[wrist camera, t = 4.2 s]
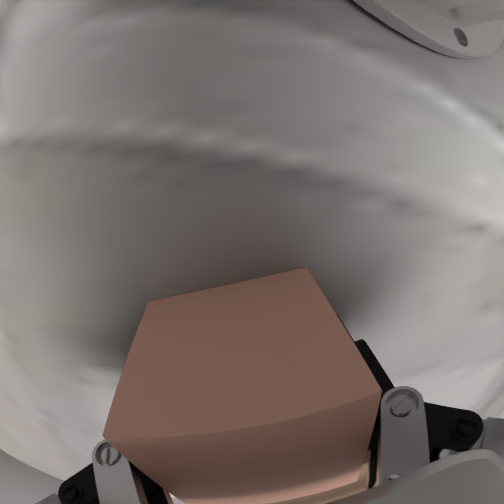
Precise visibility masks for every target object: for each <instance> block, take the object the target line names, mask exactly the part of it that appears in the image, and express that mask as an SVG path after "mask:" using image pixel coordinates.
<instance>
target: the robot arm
mask: <svg viewBox="0 0 504 504" xmlns="http://www.w3.org/2000/svg"><path fill="white" fill-rule="evenodd" d="M353 1H354V2H356V3H357V4H358V5H359V6H361V7H362V8H363V9H364V10H366V11H368V12H369V13H371V14H372V15H374V16H375V17H377V18H378V19H380V20H381V21H383V22H384V23H385V24H387V25H388V26H390V27H391V28H393V29H395V30H396V31H398V32H400V33H402V34H403V35H405V36H407V37H408V38H410V39H412V40H413V41H415V42H417V43H419V44H421V45H423V46H425V47H428V48H430V49H432V50H434V51H436V52H438V53H441V54H445V55H448V56H451V57H455V58H463V59H474V58H480V57H487V56H490V55H492V54H494V53H495V52H497V51H498V50H499V48H500V47H501V45H502V44H503V41H504V0H353ZM336 314H337V313H336ZM337 316H338V314H337ZM338 318H339V316H338ZM339 319H340V318H339ZM340 321H341V319H340ZM341 322H342V321H341ZM342 324H343V322H342ZM343 326H344V324H343ZM344 327H345V326H344ZM345 329H346V327H345ZM346 331H347V332H348V330H347V329H346ZM348 334H349V332H348ZM349 335H350V334H349ZM350 337H351V335H350ZM351 339H352V337H351ZM352 340H353V339H352ZM353 342H354V340H353ZM354 344H355V345H356V347H357V349H358V350H359V352H360V354H361V355H362V357H363V359H364V360H365V362H366V364H367V366H368V367H369V369H370V371H371V372H372V374H373V376H374V377H375V379H376V381H377V383H378V384H379V386H380V388H381V390H382V393H381V398H380V403H379V407H378V412H377V416H376V420H375V424H374V428H373V432H372V435H371V439H370V442H369V446H368V449H367V450H369V463H368V475H367V485H366V490H365V491H363V492H360V493H357V494H354V495H351V496H348V497H345V498H342V499H338V500H335V501H331V502H328V503H324V504H504V419H501V418H491V417H487V419H486V420H484V419H481V417H480V416H479V415H478V414H476V413H475V412H473V411H469V410H463V409H457V408H452V407H446V406H441V405H436V404H431V403H426V402H424V401H423V398H422V395H421V394H420V393H419V391H417V390H416V389H414V388H412V387H408V386H399V387H394V386H393V384H392V382H391V381H390V379H389V378H388V376H387V374H386V373H385V371H384V370H383V368H382V366H381V365H380V363H379V362H378V360H377V359H376V357H375V356H374V354H373V352H372V351H371V349H370V348H369V346H368V345H367V343H366V342H365V341H364V340H363V339H361V340H358V341H355V342H354ZM92 461H93V462H92V463H91V464H90V465H88V466H87V467H85V468H84V469H82V470H81V471H79V472H78V473H76V474H75V475H73V476H72V477H70V478H69V479H67V480H66V481H64V482H63V483H62V484H61V486H60V488H59V491H58V494H57V493H53V494H52V495H50V496H48V497H46V498H45V499H43V500H41V501H39V502H38V503H36V504H173V502H172V499H171V497H170V494H169V492H168V491H167V490H165V489H164V488H162V487H161V486H160V485H158V484H157V483H156V482H154V481H153V480H152V479H151V478H149V477H148V476H147V475H146V474H144V473H143V472H142V471H141V470H139V469H138V468H137V467H136V466H135V465H133V464H132V463H131V462H130V461H129V460H128V459H127V458H125V457H124V456H123V455H122V454H121V453H120V452H119V451H118V450H117V449H116V448H115V447H113V446H112V445H111V444H110V443H109V442H108V441H107V440H106V439H104V440H102V441H100V442H99V443H98V444H97V445H96V446H95V448H94V450H93V452H92Z"/></svg>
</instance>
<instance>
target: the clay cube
mask: <svg viewBox="0 0 504 504" xmlns="http://www.w3.org/2000/svg"><path fill="white" fill-rule="evenodd" d="M381 393H382V390H381V388H380V386H379V384H378V383H377V381H376V379H375V377H374V376H373V374H372V372H371V371H370V369H369V367H368V366H367V364H366V362H365V360H364V359H363V357H362V355H361V354H360V352H359V350H358V349H357V347H356V345H355V344H354V342H353V340H352V339H351V337H350V335H349V334H348V332H347V331H346V329H345V327H344V326H343V324H342V322H341V321H340V319H339V318H338V316H337V314H336V313H335V311H334V310H333V308H332V306H331V305H330V303H329V302H328V300H327V298H326V297H325V295H324V294H323V292H322V290H321V289H320V287H319V286H318V284H317V283H316V281H315V280H314V278H313V276H312V275H311V273H310V272H309V270H308V269H307V267H303V268H298V269H294V270H290V271H286V272H281V273H277V274H273V275H268V276H264V277H260V278H255V279H251V280H246V281H242V282H237V283H233V284H228V285H224V286H219V287H215V288H210V289H205V290H200V291H196V292H191V293H186V294H181V295H177V296H172V297H167V298H162V299H157V300H152V301H148V304H147V306H146V309H145V311H144V314H143V316H142V319H141V321H140V324H139V327H138V329H137V332H136V335H135V337H134V340H133V343H132V345H131V348H130V351H129V354H128V357H127V359H126V362H125V365H124V368H123V371H122V374H121V377H120V380H119V383H118V386H117V389H116V392H115V395H114V398H113V402H112V405H111V408H110V412H109V415H108V418H107V422H106V425H105V429H104V432H103V437H104V438H105V439H106V440H107V441H108V442H109V443H110V444H111V445H112V446H113V447H115V448H116V449H117V450H118V451H119V452H120V453H121V454H122V455H123V456H124V457H125V458H127V459H128V460H129V461H130V462H131V463H132V464H133V465H135V466H136V467H137V468H138V469H139V470H141V471H142V472H143V473H144V474H146V475H147V476H148V477H149V478H151V479H152V480H153V481H154V482H156V483H157V484H158V485H160V486H161V487H162V488H164V489H165V490H167V491H168V492H169V493H171V494H172V495H174V496H175V497H177V498H178V499H179V500H181V501H182V502H184V503H186V504H268V503H274V502H280V501H285V500H290V499H295V498H300V497H304V496H308V495H312V494H316V493H320V492H324V491H327V490H331V489H334V488H338V487H341V486H344V485H347V484H350V483H353V482H356V481H357V480H358V477H359V474H360V471H361V468H362V465H363V462H364V459H365V456H366V453H367V449H368V446H369V442H370V439H371V435H372V432H373V428H374V424H375V420H376V416H377V412H378V407H379V403H380V398H381Z"/></svg>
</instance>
